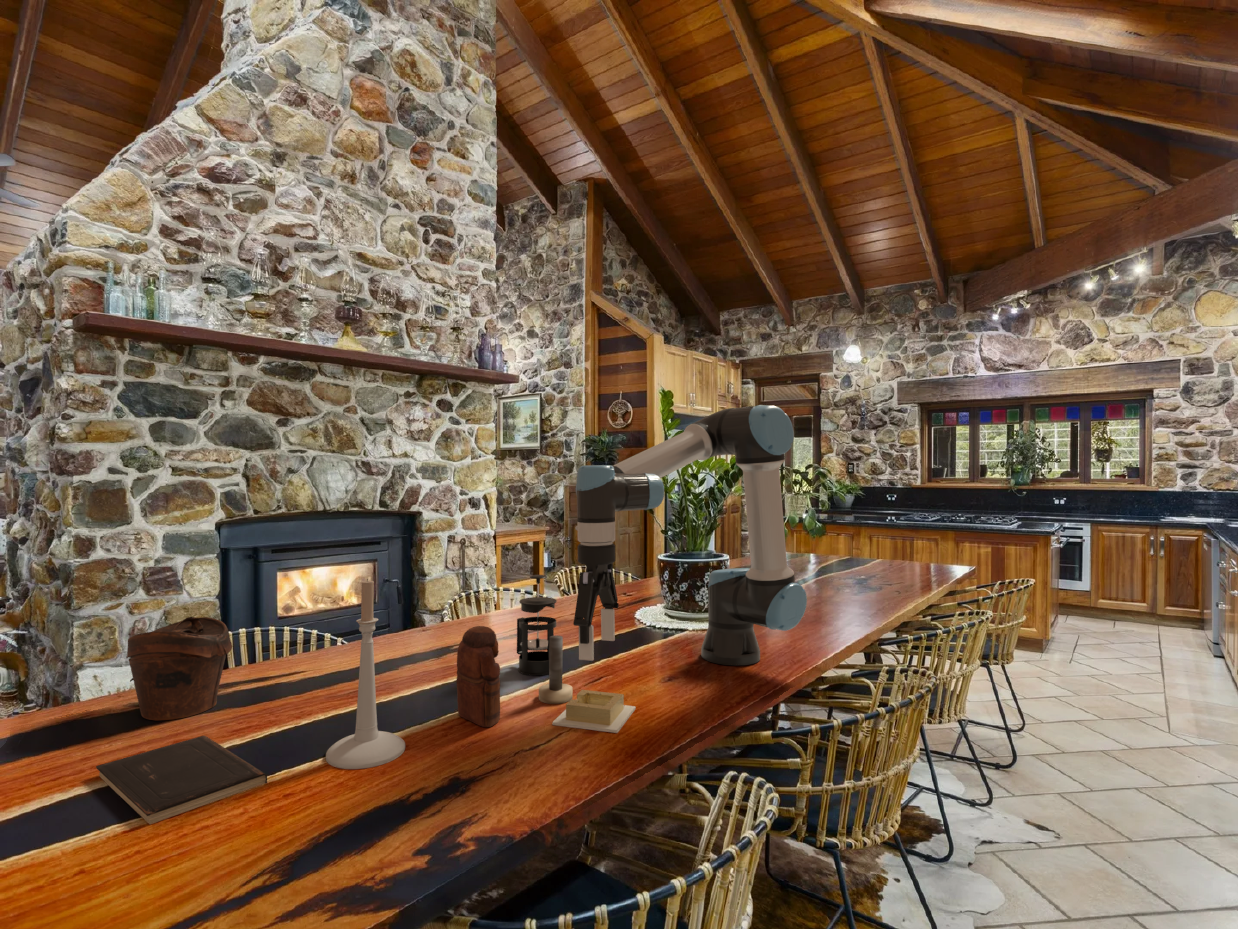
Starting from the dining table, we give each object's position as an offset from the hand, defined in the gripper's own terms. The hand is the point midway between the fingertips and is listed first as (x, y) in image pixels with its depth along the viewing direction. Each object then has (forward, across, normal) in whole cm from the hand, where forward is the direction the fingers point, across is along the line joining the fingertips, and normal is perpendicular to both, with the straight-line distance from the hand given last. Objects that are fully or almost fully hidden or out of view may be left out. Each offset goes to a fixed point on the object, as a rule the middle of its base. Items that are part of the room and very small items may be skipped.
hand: (597, 649), depth 133 cm
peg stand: (+13, -7, -12) cm, 19 cm away
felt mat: (+13, +1, 0) cm, 13 cm away
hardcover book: (+12, +45, -54) cm, 72 cm away
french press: (+14, -24, -24) cm, 36 cm away
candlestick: (+12, +28, -33) cm, 45 cm away
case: (+12, +22, -82) cm, 86 cm away
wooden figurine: (+13, +8, -22) cm, 27 cm away
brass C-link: (+13, +1, 0) cm, 13 cm away
